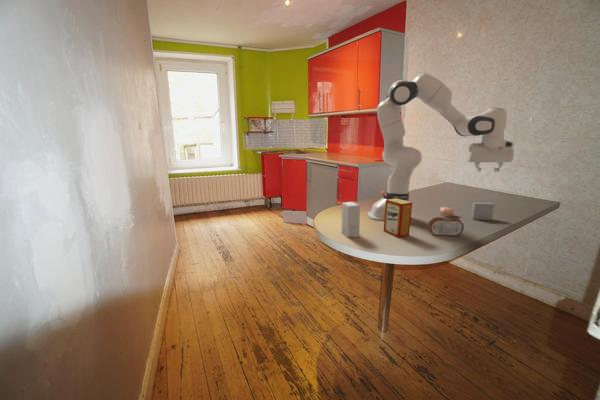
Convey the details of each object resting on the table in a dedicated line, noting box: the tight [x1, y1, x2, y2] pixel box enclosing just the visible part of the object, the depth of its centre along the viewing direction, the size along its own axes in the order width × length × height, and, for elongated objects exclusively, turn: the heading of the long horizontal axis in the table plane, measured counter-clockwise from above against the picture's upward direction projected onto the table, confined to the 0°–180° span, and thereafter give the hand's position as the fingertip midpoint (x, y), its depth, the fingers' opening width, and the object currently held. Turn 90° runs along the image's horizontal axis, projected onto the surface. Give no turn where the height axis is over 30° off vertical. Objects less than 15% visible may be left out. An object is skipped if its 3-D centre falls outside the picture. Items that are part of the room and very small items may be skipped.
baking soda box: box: [383, 198, 413, 239], centre depth 131 cm, size 10×6×16 cm
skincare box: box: [341, 201, 361, 238], centre depth 130 cm, size 8×6×15 cm
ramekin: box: [439, 206, 455, 218], centre depth 162 cm, size 7×7×4 cm
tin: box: [427, 216, 465, 237], centre depth 130 cm, size 15×3×8 cm, turn 84°
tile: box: [470, 202, 495, 221], centre depth 155 cm, size 10×3×9 cm, turn 87°
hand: (487, 171), depth 140 cm, fingers open, 7 cm apart
